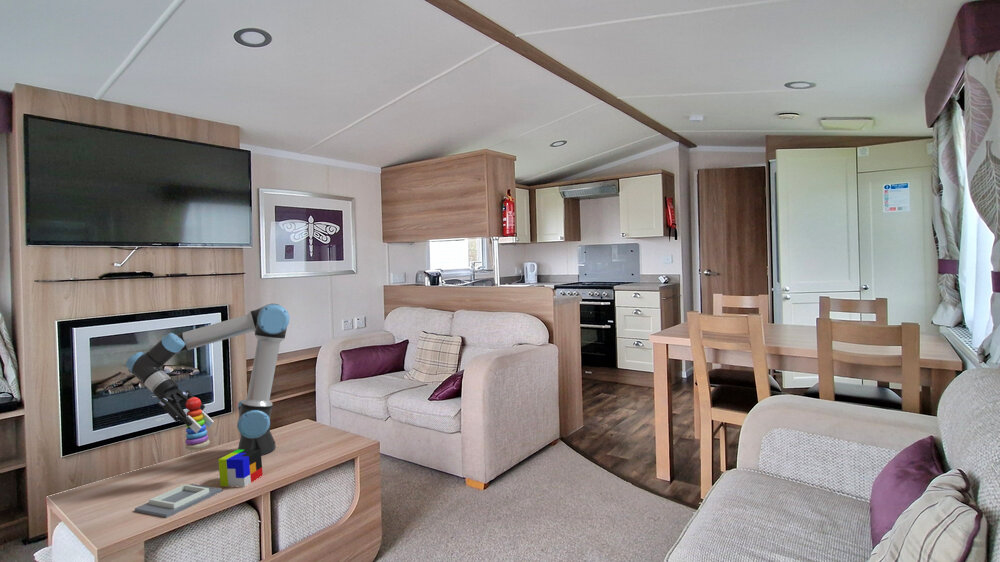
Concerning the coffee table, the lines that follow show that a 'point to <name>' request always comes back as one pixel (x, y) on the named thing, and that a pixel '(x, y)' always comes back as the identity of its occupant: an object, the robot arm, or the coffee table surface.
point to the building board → (177, 500)
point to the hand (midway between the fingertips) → (205, 427)
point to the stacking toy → (200, 438)
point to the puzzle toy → (240, 468)
